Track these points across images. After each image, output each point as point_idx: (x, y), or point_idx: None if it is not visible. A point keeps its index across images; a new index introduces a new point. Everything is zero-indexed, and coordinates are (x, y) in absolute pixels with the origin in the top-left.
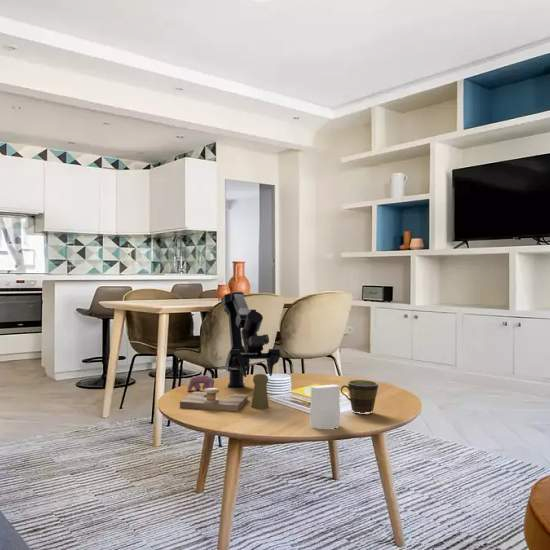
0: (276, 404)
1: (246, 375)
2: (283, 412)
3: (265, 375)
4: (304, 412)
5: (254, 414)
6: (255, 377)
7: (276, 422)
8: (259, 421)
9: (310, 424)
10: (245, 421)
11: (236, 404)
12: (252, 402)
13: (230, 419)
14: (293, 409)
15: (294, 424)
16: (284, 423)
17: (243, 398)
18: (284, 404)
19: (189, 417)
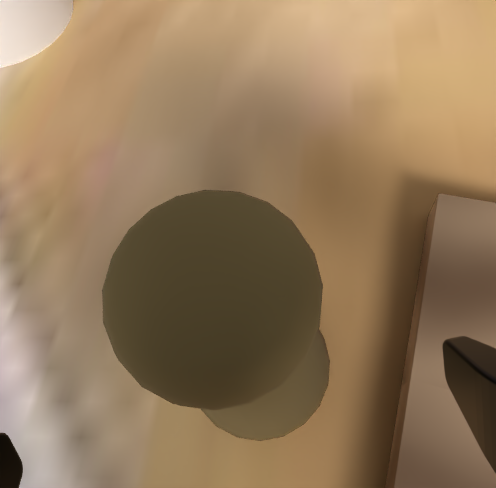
0: (114, 429)
1: (443, 342)
2: (125, 205)
3: (130, 249)
4: (3, 211)
5: (311, 156)
6: (289, 221)
7: (208, 38)
8: (290, 43)
9: (69, 3)
10: (364, 37)
11: (453, 216)
12: (320, 332)
13: (452, 59)
14: (40, 277)
15: (132, 21)
16: (173, 29)
17: (411, 439)
18: (51, 428)
19: None
